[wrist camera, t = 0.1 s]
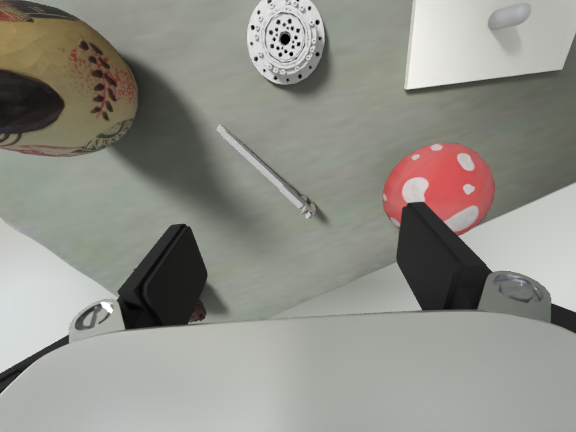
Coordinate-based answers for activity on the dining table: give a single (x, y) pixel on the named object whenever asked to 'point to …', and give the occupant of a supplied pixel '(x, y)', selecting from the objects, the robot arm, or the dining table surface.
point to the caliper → (269, 174)
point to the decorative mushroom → (442, 185)
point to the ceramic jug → (60, 84)
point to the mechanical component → (293, 17)
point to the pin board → (486, 39)
